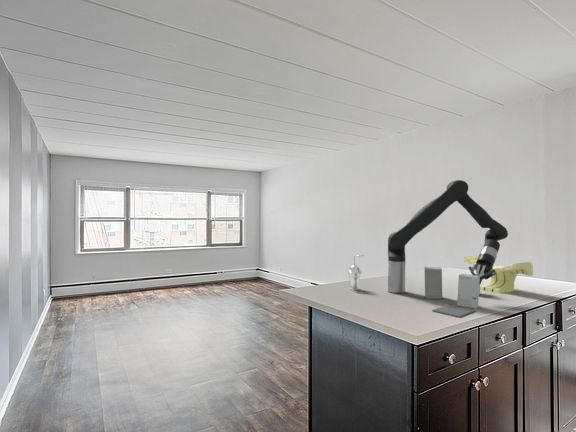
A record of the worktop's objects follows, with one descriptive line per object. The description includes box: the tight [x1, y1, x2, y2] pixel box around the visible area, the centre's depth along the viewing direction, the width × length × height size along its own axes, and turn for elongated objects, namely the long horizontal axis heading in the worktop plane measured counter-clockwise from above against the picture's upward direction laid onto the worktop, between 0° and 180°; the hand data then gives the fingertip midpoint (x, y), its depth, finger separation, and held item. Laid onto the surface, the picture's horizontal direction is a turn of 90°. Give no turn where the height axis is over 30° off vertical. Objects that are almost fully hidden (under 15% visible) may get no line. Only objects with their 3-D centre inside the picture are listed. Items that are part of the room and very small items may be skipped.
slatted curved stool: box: [463, 255, 534, 295], centre depth 200 cm, size 30×16×18 cm, turn 28°
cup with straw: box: [346, 254, 365, 291], centre depth 199 cm, size 8×9×20 cm
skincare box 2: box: [456, 273, 480, 310], centre depth 163 cm, size 8×6×15 cm
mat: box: [431, 303, 477, 319], centre depth 155 cm, size 16×12×1 cm
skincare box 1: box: [424, 266, 443, 300], centre depth 180 cm, size 8×7×16 cm
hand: (476, 284), depth 169 cm, fingers closed
